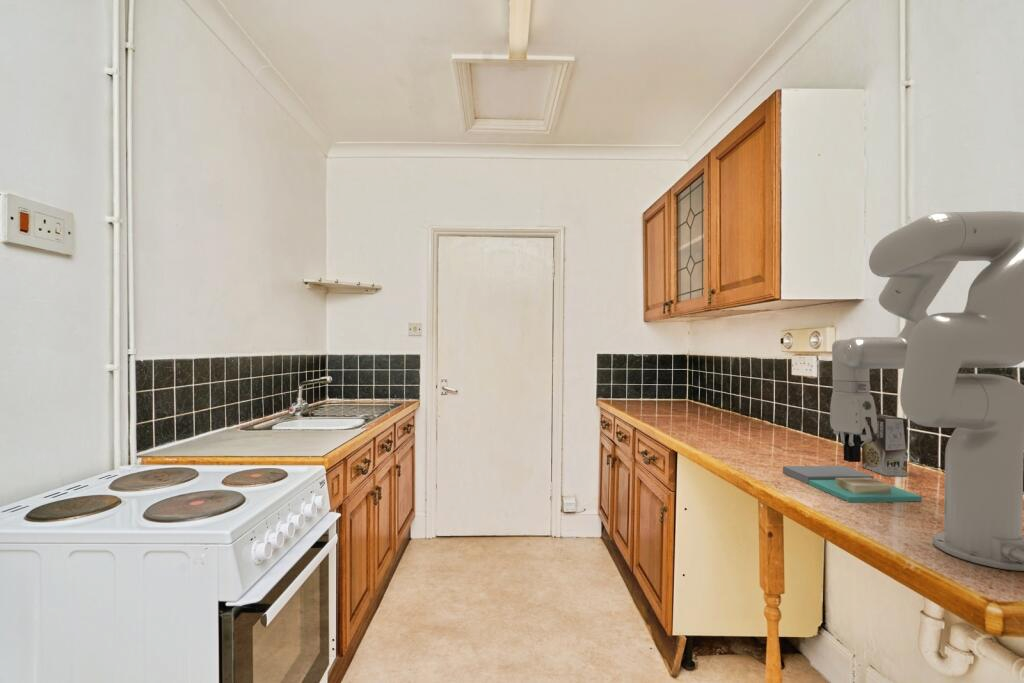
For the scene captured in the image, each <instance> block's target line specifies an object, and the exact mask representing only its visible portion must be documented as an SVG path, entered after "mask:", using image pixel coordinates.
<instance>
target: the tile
mask: <svg viewBox="0 0 1024 683" xmlns="http://www.w3.org/2000/svg"><path fill="white" fill-rule="evenodd" d="M836 486H837V487H839V488H842V489H844V490H847V491H849V492H851V493H854V494H891V486H892V484H889V483H885V482H882V481H880V480H878V479H875V478H873V479H872V478H836Z"/></svg>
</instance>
